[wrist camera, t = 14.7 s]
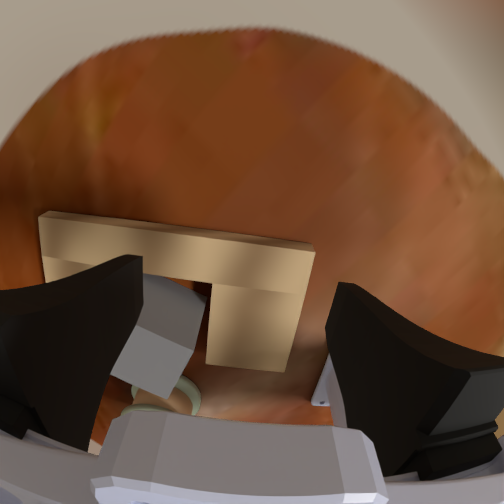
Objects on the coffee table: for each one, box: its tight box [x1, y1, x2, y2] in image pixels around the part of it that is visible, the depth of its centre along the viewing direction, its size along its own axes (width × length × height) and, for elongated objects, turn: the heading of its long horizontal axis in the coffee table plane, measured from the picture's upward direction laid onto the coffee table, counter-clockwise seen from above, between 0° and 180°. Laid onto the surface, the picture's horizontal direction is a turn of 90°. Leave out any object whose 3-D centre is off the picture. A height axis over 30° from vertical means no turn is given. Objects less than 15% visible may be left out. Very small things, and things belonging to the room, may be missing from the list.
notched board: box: [38, 211, 315, 372], centre depth 21 cm, size 19×10×2 cm, turn 82°
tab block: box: [110, 273, 207, 399], centre depth 20 cm, size 5×5×6 cm
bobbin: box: [120, 374, 201, 416], centre depth 24 cm, size 6×6×5 cm
